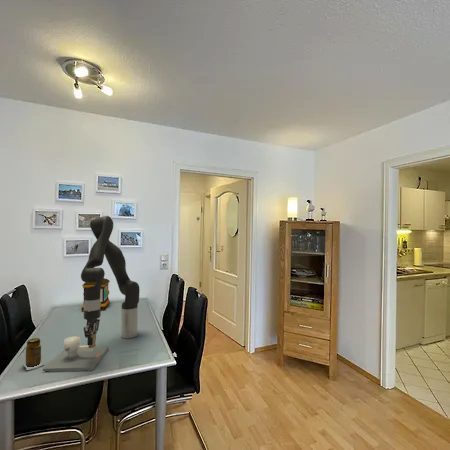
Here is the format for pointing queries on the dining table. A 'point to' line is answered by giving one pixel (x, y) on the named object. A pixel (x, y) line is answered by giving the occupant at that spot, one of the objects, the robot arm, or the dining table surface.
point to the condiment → (33, 352)
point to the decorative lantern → (103, 292)
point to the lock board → (77, 360)
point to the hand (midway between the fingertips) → (91, 343)
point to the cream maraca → (77, 344)
